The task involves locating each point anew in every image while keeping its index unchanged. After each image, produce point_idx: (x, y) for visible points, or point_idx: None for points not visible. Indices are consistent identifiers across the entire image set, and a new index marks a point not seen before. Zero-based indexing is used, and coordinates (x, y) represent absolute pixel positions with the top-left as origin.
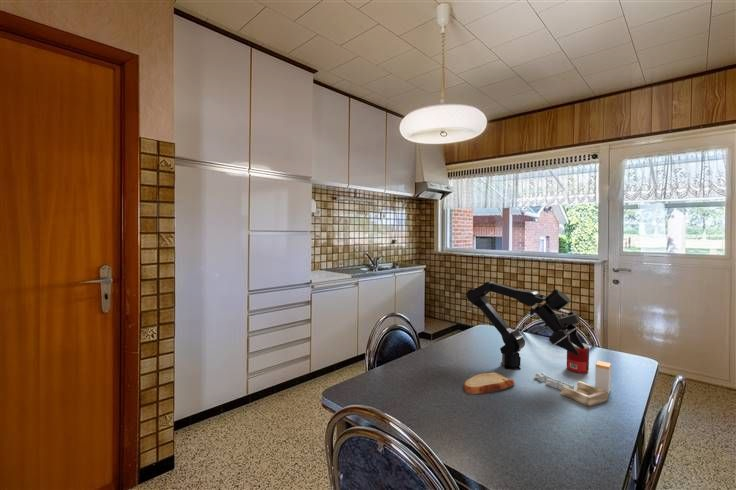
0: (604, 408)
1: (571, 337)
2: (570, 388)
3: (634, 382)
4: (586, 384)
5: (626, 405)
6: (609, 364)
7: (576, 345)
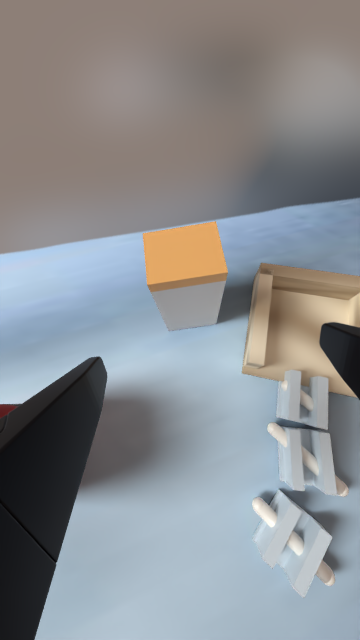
0: (322, 266)
1: (13, 556)
2: None
3: (41, 274)
4: (263, 329)
5: (243, 240)
6: (169, 232)
7: (94, 431)
